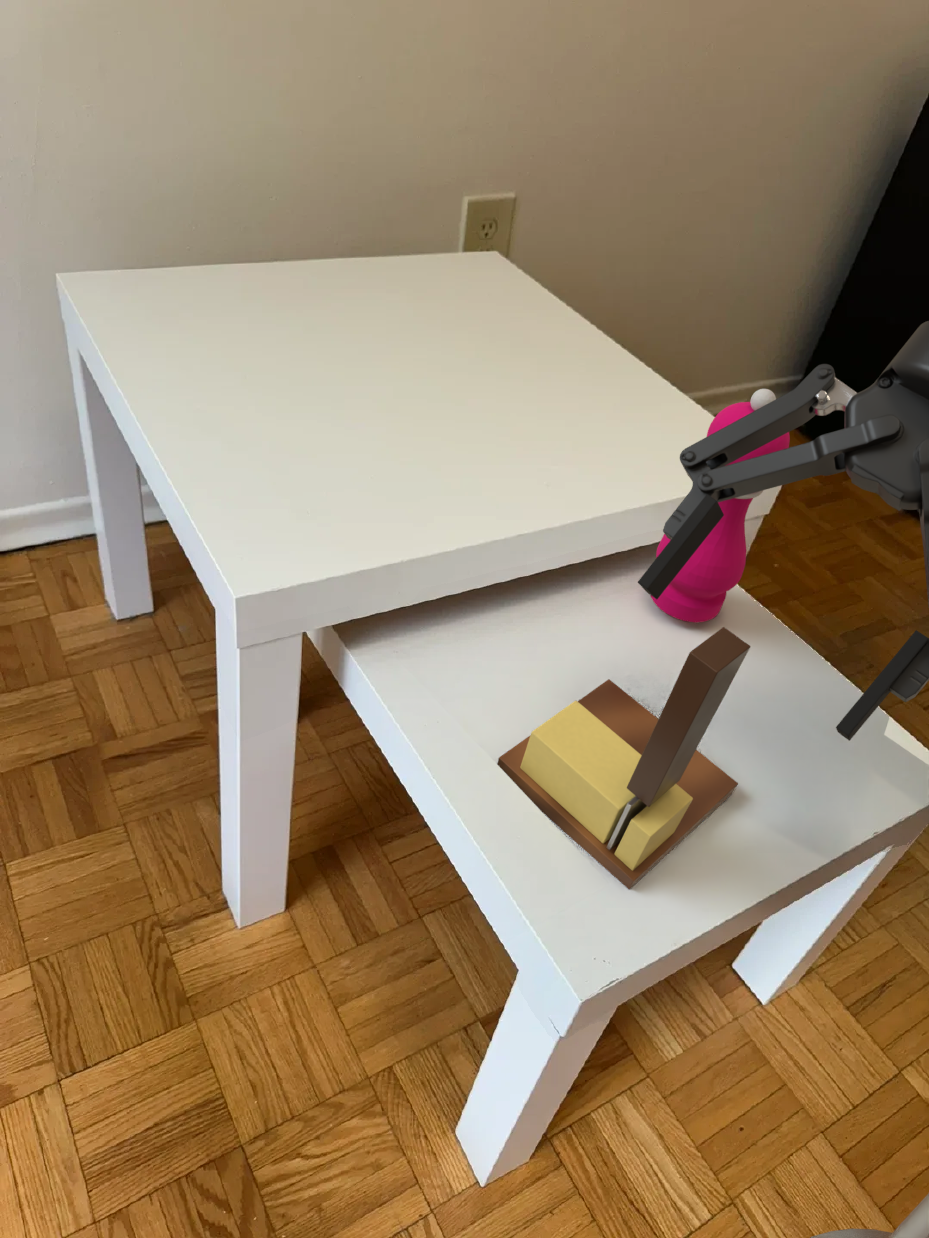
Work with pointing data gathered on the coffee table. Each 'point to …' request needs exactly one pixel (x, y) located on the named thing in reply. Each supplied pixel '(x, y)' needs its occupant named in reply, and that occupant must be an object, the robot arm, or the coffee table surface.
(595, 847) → the board
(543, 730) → the butter
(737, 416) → the pepper mill
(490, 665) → the coffee table surface
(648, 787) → the knife
